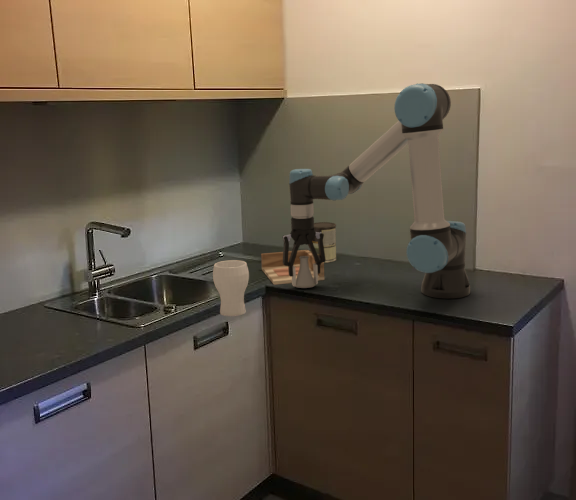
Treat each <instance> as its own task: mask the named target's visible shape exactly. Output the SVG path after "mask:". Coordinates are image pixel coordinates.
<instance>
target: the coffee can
mask: <svg viewBox="0 0 576 500" xmlns="http://www.w3.org/2000/svg"><path fill="white" fill-rule="evenodd" d="M336 227H337V224H336V223H334V222H327V221H326V222H325V221H323V222H314V230H315V232H318V233H319V232H321V233H323V234H324V237H323V245H324V252H325V259H326V261H325V262H324V264H327V263H333V262H335V261H337V242H336V241H337V240H336V239H337V237H336V234H337V233H336V232H337V230H336ZM312 242H313V245H314V248H315V250H316V253H317V255H318V257H319V259H320V254H319V247H318V240H317V238H316V235H315V237H314V238H313V240H312ZM309 251H310V250H309ZM310 252H311V251H310Z"/></svg>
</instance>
